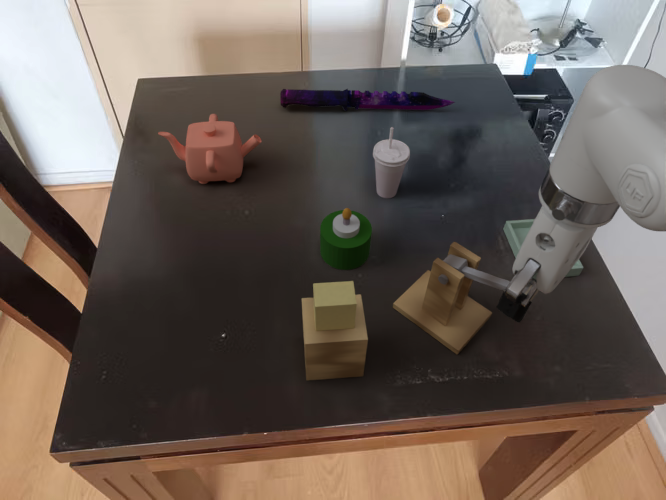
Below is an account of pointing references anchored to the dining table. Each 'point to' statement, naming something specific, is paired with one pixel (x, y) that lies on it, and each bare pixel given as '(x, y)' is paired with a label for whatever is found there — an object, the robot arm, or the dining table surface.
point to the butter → (334, 305)
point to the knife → (362, 99)
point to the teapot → (213, 150)
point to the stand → (334, 346)
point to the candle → (345, 239)
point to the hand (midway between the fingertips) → (529, 290)
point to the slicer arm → (480, 274)
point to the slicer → (445, 302)
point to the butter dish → (517, 235)
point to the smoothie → (389, 165)
